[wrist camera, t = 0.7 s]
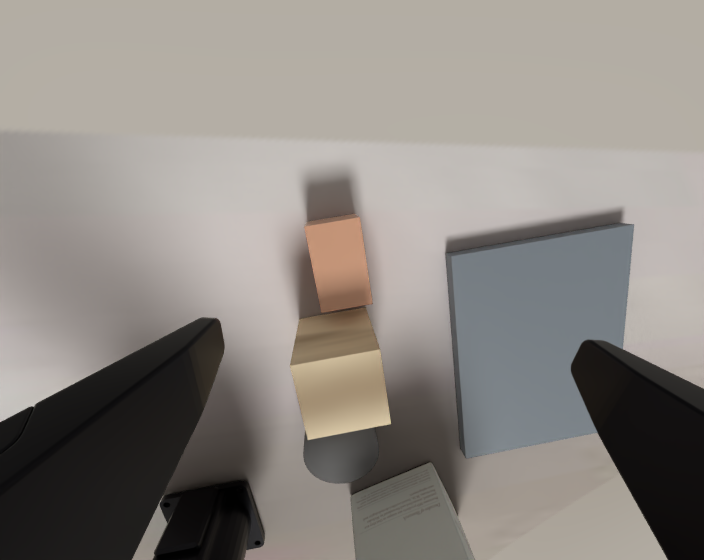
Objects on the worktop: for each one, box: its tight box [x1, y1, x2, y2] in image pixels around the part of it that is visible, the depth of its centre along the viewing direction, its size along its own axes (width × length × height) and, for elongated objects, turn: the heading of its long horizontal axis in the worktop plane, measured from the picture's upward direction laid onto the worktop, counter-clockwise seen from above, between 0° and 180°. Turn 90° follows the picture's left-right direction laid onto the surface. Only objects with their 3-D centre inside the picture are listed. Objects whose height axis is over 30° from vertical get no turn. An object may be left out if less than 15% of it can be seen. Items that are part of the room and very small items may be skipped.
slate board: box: [446, 223, 634, 459], centre depth 23 cm, size 16×12×1 cm
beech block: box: [290, 307, 391, 440], centre depth 19 cm, size 4×4×6 cm
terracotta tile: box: [304, 214, 373, 313], centre depth 19 cm, size 5×3×3 cm, turn 9°
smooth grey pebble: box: [303, 427, 379, 483], centre depth 22 cm, size 5×5×3 cm
